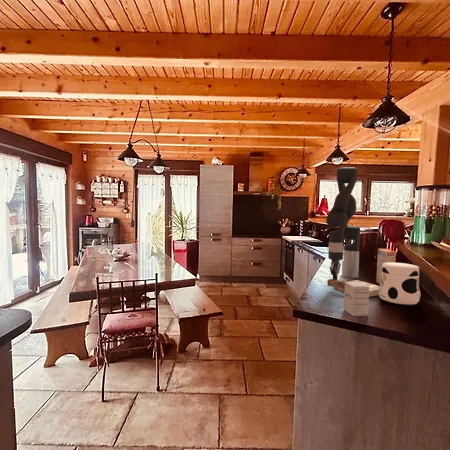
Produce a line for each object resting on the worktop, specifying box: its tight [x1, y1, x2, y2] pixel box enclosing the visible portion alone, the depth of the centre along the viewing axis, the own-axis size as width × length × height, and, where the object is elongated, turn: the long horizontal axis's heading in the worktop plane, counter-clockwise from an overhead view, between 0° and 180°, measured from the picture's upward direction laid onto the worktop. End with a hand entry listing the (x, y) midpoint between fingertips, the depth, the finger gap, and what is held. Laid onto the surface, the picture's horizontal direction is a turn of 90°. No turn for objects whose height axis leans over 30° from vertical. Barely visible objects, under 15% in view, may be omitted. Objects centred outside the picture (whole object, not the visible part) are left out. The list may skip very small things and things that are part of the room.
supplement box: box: [343, 282, 370, 317], centre depth 128 cm, size 7×7×13 cm
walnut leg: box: [326, 278, 349, 289], centre depth 157 cm, size 16×4×3 cm, turn 51°
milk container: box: [378, 262, 422, 307], centre depth 143 cm, size 17×17×18 cm
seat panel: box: [333, 279, 380, 298], centre depth 163 cm, size 19×18×3 cm
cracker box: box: [375, 248, 397, 286], centre depth 175 cm, size 14×6×21 cm, turn 168°
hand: (334, 281), depth 164 cm, fingers closed
